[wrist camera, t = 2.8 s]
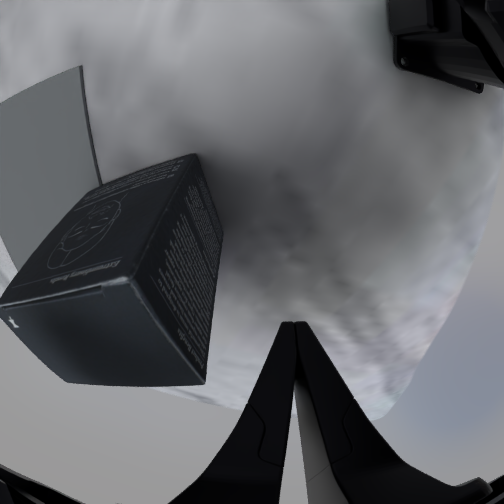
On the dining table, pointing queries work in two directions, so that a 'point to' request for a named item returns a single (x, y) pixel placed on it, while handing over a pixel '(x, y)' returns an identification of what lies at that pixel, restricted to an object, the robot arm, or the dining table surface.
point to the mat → (43, 160)
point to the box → (125, 282)
